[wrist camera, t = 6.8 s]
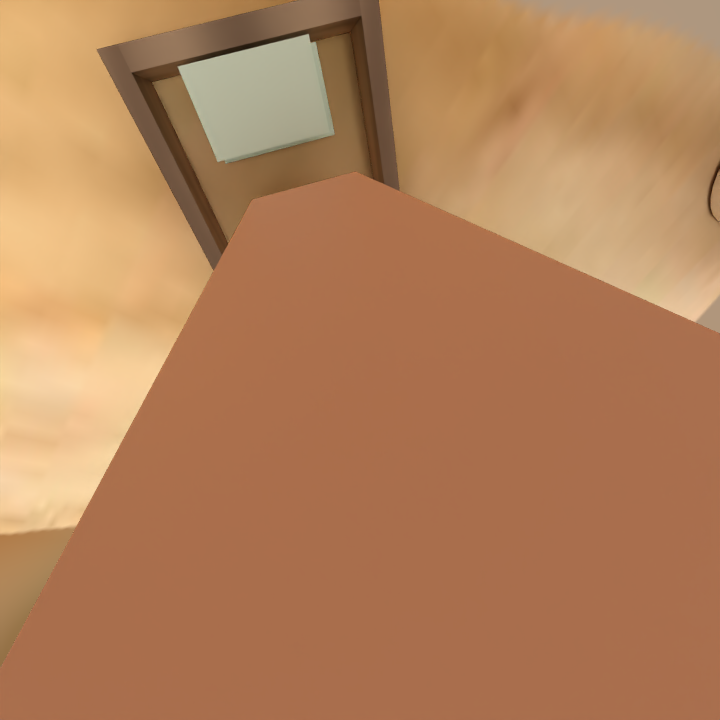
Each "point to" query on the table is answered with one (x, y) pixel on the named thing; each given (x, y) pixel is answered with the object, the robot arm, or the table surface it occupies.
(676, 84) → the table surface
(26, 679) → the tall pink block
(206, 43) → the frame
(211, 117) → the pale green block
